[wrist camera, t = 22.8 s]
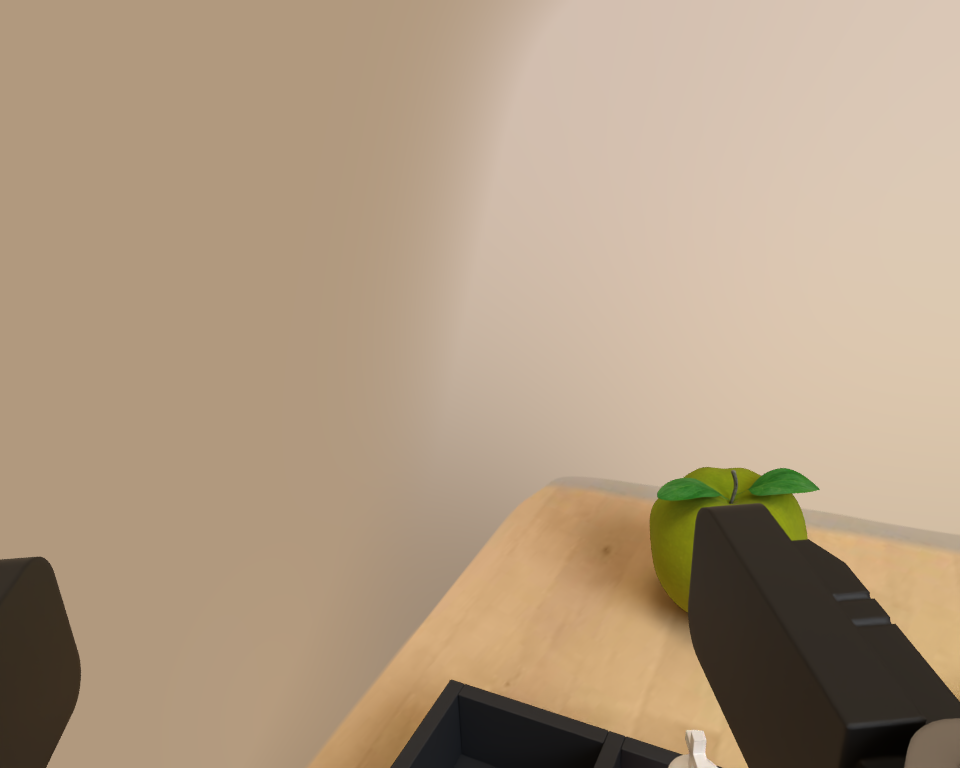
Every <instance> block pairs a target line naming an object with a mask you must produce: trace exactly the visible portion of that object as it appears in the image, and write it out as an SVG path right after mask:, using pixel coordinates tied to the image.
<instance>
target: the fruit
mask: <svg viewBox="0 0 960 768" xmlns="http://www.w3.org/2000/svg"><path fill="white" fill-rule="evenodd" d="M816 490H819V488H818V487H817V486H816V485H815V484H814V483H813V482H811V481H810V480H809V479H807V478H806V477H805V476H803V475H802V474H800V473H798V472H796V471H794V470H790V469H786V468H780V469H775V470H772V471H769V472H767V473H766V474H764V475H762V476H760V475H758V474H757V473H755V472H753V471H750V470H748V469H744V468H729V469H720V468H711V467H705V468H704V467H703V468H699V469H697V470H695V471H693V472H691V473H689V474H688V475H686V476H685V477H684V478H680V479H675V480H672V481H670V482H668V483H667V484H665V485H664V486H662V488H661V489H660V490H659V491H658V493H657V497H658V500H657V501H656V502H655V503H654V505H653V508H652V510H651V515H650V540H651V550H652V557H653V563H654V568H655V571H656V574H657V577H658V579H659V581H660V583H661V585H662V587H663V588H664V590H665V591H666V593H667V594H668V595H669V596H670V598H671V599H672V600H673V601H674V602H675V603H676V604H677V605H678V606H679V607H680V608H682V609H683V610H684V611H686V612H687V613H688V600H689V588H690V577H691V565H692V554H693V542H694V531H695V521H696V517H697V514H698V511H699V510H700V509H701V508H703V507H714V506H727V505H740V504H753V503H761V504H763V505H764V506H765V507H766V508H767V509H768V510H769V511H770V513H771V514H772V515H773V517H774V518H775V519H776V521H777V522H778V523H779V525H780V526H781V527H782V529H783V530H784V531H785V533H786V534H787V535H788V537H789V538H790V539H791V541H793V540H806V539H807V531H806V525H805V520H804V517H803V513H802V511H801V508H800V506H799V504H798V502H797V500H796V499H795V497H794V496H793V494H792V493H805V492H812V491H816Z"/></svg>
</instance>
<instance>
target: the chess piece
mask: <svg viewBox="0 0 960 768" xmlns="http://www.w3.org/2000/svg"><path fill="white" fill-rule="evenodd" d="M685 740H686V743H687V747H688V750H689V754H686V755H681V756H679V757H677V758H675V759H674V760H673V761H672V762H671V763H670V765H669V767H668V768H718V767H717V766H716V765H715V764H714V763H713V762H711V761H710V760H709V759H707V757H706V754H705V750H706V737H705V734H704V731H698V730H686V736H685Z"/></svg>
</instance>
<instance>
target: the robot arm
mask: <svg viewBox="0 0 960 768" xmlns="http://www.w3.org/2000/svg"><path fill="white" fill-rule="evenodd" d="M688 620H689V628H690V634H691V639H692V643H693V647H694V650H695V653H696V655H697V658H698V660H699V662H700V664H701V666H702V669H703V671H704V673H705V675H706V677H707V679H708V681H709V684H710V686H711V688H712V690H713V692H714V694H715V697H716V699H717V701H718V703H719V705H720V707H721V709H722V712H723V714H724V716H725V718H726V720H727V722H728V724H729V727H730V729H731V731H732V733H733V735H734V737H735V739H736V742H737V744H738V746H739V748H740V750H741V752H742V754H743V757H744V759H745V761H746V763H747V765H748V767H749V768H960V702H959V700H958V699H957V698H956V697H955V696H954V694H953V693H952V692H951V691H950V690H949V688H948V687H947V686H946V685H945V683H944V682H943V681H942V680H941V679H940V677H939V676H938V675H937V674H936V673H935V671H934V670H933V669H932V668H931V666H930V665H929V664H928V663H927V662H926V660H925V659H924V658H923V657H922V656H921V654H920V653H919V652H918V651H917V649H916V648H915V647H914V646H913V645H912V643H911V642H910V641H909V640H908V639H907V637H906V636H905V635H904V634H903V633H902V631H901V630H900V629H899V628H898V626H897V625H896V624H891V622H890V617H889V616H888V614H887V613H886V612H885V611H884V609H883V608H882V607H881V606H880V605H879V603H878V602H877V601H876V600H875V599H871V598H870V592H869V591H868V590H867V589H866V588H865V586H864V585H863V584H862V583H861V582H860V580H859V579H858V578H857V577H856V576H855V574H854V573H853V572H852V571H851V569H850V568H849V567H848V566H847V565H846V563H844V562H843V561H841V560H840V559H838V558H837V557H835V556H834V555H832V554H830V553H829V552H827V551H826V550H824V549H823V548H821V547H820V546H818V545H816V544H815V543H813V542H812V541H810V540H809V539H806V540H793V541H791V539H790V538H789V537H788V535H787V534H786V533H785V531H784V530H783V529H782V527H781V526H780V525H779V523H778V522H777V521H776V519H775V518H774V517H773V515H772V514H771V513H770V511H769V510H768V509H767V508H766V507H765V506H764V505H763V504H761V503H753V504H740V505H727V506H714V507H703V508H701V509H700V510H699V511H698V514H697V517H696V521H695V531H694V542H693V554H692V565H691V577H690V588H689V600H688ZM80 680H81V667H80V659H79V654H78V650H77V647H76V644H75V641H74V637H73V634H72V631H71V627H70V624H69V620H68V617H67V614H66V610H65V607H64V604H63V600H62V597H61V594H60V590H59V587H58V584H57V580H56V577H55V574H54V571H53V568H52V567H51V565H50V563H49V562H48V561H47V560H46V559H45V558H43V557H28V558H15V559H4V560H3V559H2V560H0V768H46V767H47V765H48V762H49V760H50V758H51V756H52V754H53V752H54V750H55V748H56V746H57V744H58V742H59V740H60V738H61V736H62V734H63V731H64V729H65V727H66V725H67V723H68V721H69V719H70V717H71V715H72V713H73V711H74V708H75V705H76V702H77V699H78V694H79V689H80Z"/></svg>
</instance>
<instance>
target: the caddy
mask: <svg viewBox="0 0 960 768" xmlns="http://www.w3.org/2000/svg"><path fill="white" fill-rule="evenodd" d="M681 755H682V754H679V753H676V752H673V751H669V750H666V749H663V748H660V747H657V746H654V745H651V744H648V743H645V742H642V741H639V740H636V739H633V738H630V737H625V736H623V735H620V734H617V733H614V732H611V731H609V732H608V730H605V729H602V728H599V727H596V726H593V725H590V724H586V723H583V722H580V721H577V720H574V719H571V718H568V717H565V716H562V715H559V714H556V713H553V712H550V711H547V710H543V709H540V708H537V707H534V706H531V705H528V704H525V703H522V702H519V701H516V700H513V699H510V698H507V697H504V696H500V695H497V694H494V693H491V692H488V691H485V690H482V689H479V688H476V687H473V686H470V685H467V684H465V685H464V684H463V683H460V682H457V681H454V680H450V681H449V683H448V684H447V686H446V687H445V689H444V690H443V692H442V693H441V695H440V696H439V698H438V699H437V700H436V702H435V703H434V705H433V706H432V708H431V709H430V711H429V712H428V714H427V715H426V717H425V718H424V719H423V721H422V722H421V724H420V725H419V727H418V728H417V730H416V731H415V733H414V734H413V736H412V737H411V738H410V740H409V741H408V743H407V744H406V746H405V747H404V749H403V750H402V752H401V753H400V755H399V756H398V757H397V759H396V760H395V762H394V763H393V765H392V766H391V768H668V767H669V765H670V763H671V762H672V761H673V760H674V759H675V758H677V757H679V756H681ZM717 767H718V768H722V767H719V766H717Z"/></svg>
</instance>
